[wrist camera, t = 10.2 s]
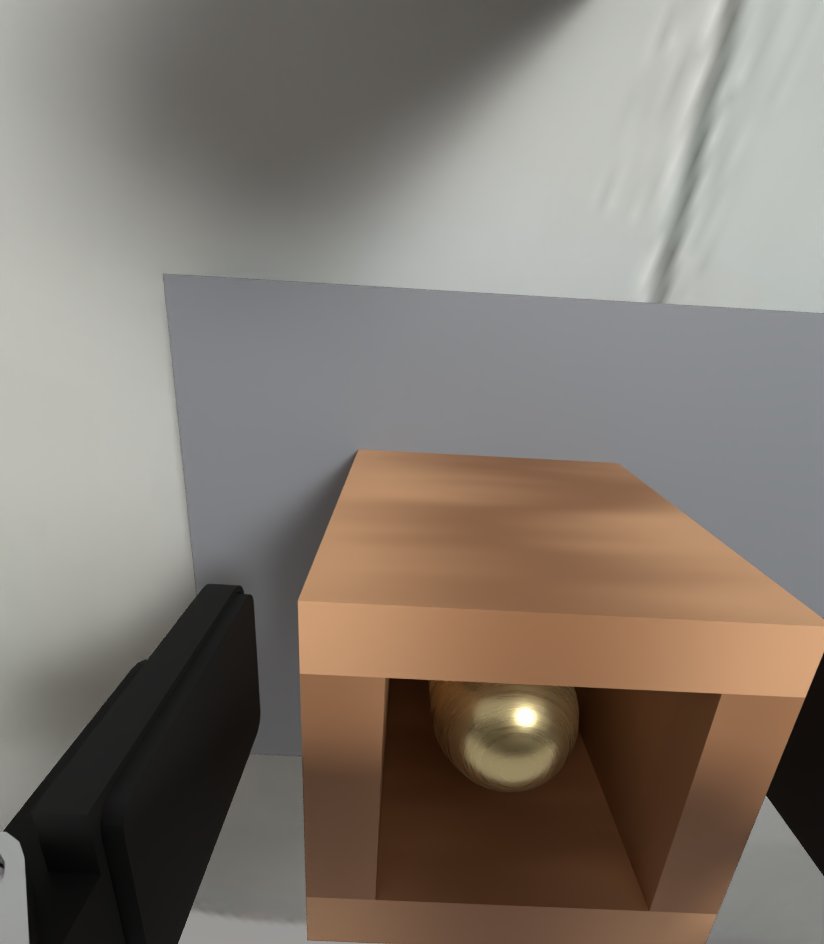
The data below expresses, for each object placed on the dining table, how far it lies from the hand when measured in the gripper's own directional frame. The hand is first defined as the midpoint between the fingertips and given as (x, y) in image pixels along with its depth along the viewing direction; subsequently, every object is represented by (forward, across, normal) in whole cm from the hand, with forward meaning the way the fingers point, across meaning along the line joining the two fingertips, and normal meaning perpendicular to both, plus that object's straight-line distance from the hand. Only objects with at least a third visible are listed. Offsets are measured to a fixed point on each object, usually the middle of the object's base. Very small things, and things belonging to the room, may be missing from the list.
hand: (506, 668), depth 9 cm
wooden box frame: (+4, 0, 0) cm, 4 cm away
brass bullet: (+3, 0, 0) cm, 4 cm away
